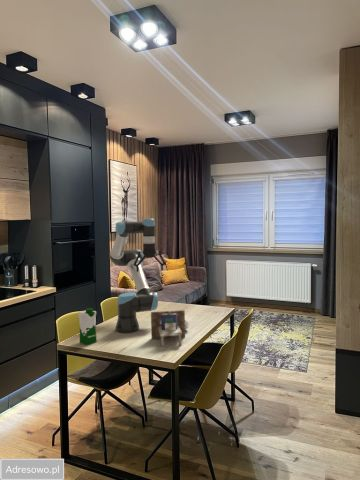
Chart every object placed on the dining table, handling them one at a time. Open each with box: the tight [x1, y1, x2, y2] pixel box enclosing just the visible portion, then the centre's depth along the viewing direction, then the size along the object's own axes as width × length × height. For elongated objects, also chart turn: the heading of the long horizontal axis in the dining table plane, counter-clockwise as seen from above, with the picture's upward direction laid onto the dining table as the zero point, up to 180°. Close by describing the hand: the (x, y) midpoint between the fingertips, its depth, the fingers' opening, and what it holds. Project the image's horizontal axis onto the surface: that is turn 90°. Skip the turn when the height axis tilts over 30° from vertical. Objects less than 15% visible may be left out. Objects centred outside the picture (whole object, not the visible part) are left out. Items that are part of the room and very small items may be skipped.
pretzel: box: [185, 318, 190, 331], centre depth 232 cm, size 11×12×9 cm
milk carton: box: [77, 307, 98, 346], centre depth 213 cm, size 9×9×20 cm
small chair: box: [150, 309, 186, 348], centre depth 212 cm, size 20×16×16 cm
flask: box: [161, 310, 178, 330], centre depth 210 cm, size 9×3×11 cm, turn 95°
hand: (149, 276), depth 233 cm, fingers open, 13 cm apart
